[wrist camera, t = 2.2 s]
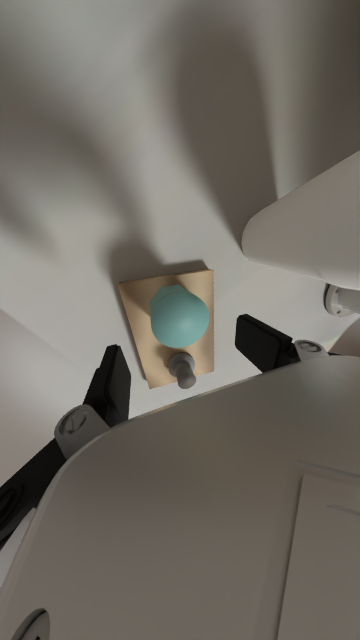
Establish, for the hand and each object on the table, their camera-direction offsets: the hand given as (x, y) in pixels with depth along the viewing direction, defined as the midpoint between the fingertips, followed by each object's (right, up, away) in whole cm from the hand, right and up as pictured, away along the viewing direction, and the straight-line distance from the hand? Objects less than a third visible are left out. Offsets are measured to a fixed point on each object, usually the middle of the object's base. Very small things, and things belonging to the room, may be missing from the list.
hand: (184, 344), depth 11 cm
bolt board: (-1, 0, +12) cm, 12 cm away
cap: (-1, +4, +8) cm, 9 cm away
